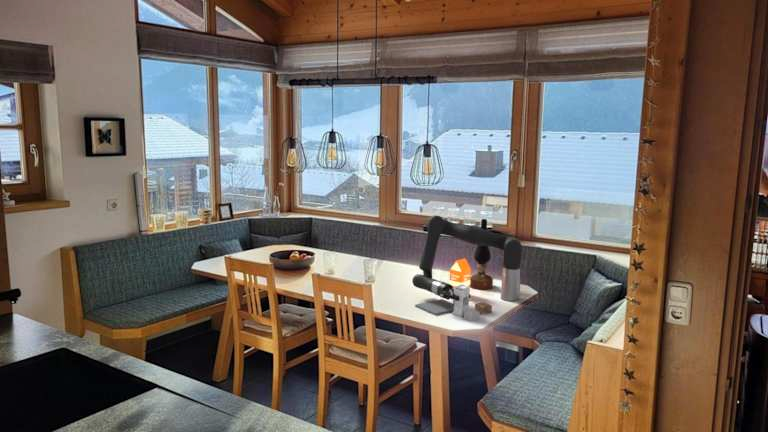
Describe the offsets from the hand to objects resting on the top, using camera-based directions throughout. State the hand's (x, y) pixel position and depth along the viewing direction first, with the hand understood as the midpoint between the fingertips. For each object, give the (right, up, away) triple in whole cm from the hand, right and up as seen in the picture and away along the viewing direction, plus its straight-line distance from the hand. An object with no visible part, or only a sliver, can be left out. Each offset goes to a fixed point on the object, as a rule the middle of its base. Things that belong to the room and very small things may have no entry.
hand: (464, 297), depth 290 cm
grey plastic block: (+3, -10, -3) cm, 11 cm away
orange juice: (+2, -4, +35) cm, 35 cm away
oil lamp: (+16, -1, +52) cm, 55 cm away
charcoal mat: (-11, -7, +12) cm, 18 cm away
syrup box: (-1, -9, +3) cm, 9 cm away
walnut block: (+10, -8, +8) cm, 15 cm away
